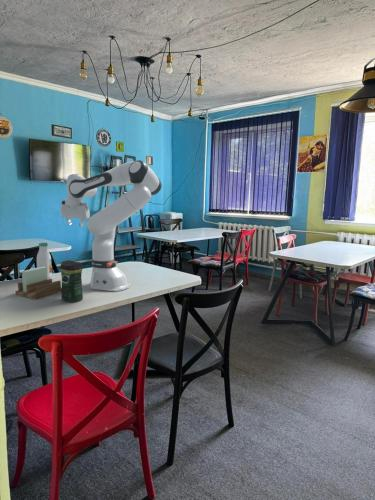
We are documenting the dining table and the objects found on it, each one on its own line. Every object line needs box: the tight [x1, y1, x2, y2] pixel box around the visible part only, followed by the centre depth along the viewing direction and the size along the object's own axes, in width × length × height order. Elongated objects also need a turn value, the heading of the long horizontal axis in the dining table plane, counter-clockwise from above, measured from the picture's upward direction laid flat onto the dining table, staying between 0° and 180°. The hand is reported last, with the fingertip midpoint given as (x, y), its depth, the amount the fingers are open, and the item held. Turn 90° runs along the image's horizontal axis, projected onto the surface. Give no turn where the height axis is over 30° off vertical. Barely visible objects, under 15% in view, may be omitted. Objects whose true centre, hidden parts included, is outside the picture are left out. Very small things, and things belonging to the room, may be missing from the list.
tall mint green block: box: [21, 267, 48, 292], centre depth 171 cm, size 3×12×10 cm, turn 152°
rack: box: [14, 278, 62, 301], centre depth 170 cm, size 15×16×6 cm
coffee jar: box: [60, 260, 84, 303], centre depth 160 cm, size 10×8×19 cm
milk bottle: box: [36, 242, 53, 279], centre depth 197 cm, size 8×8×20 cm
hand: (75, 225), depth 205 cm, fingers open, 8 cm apart
